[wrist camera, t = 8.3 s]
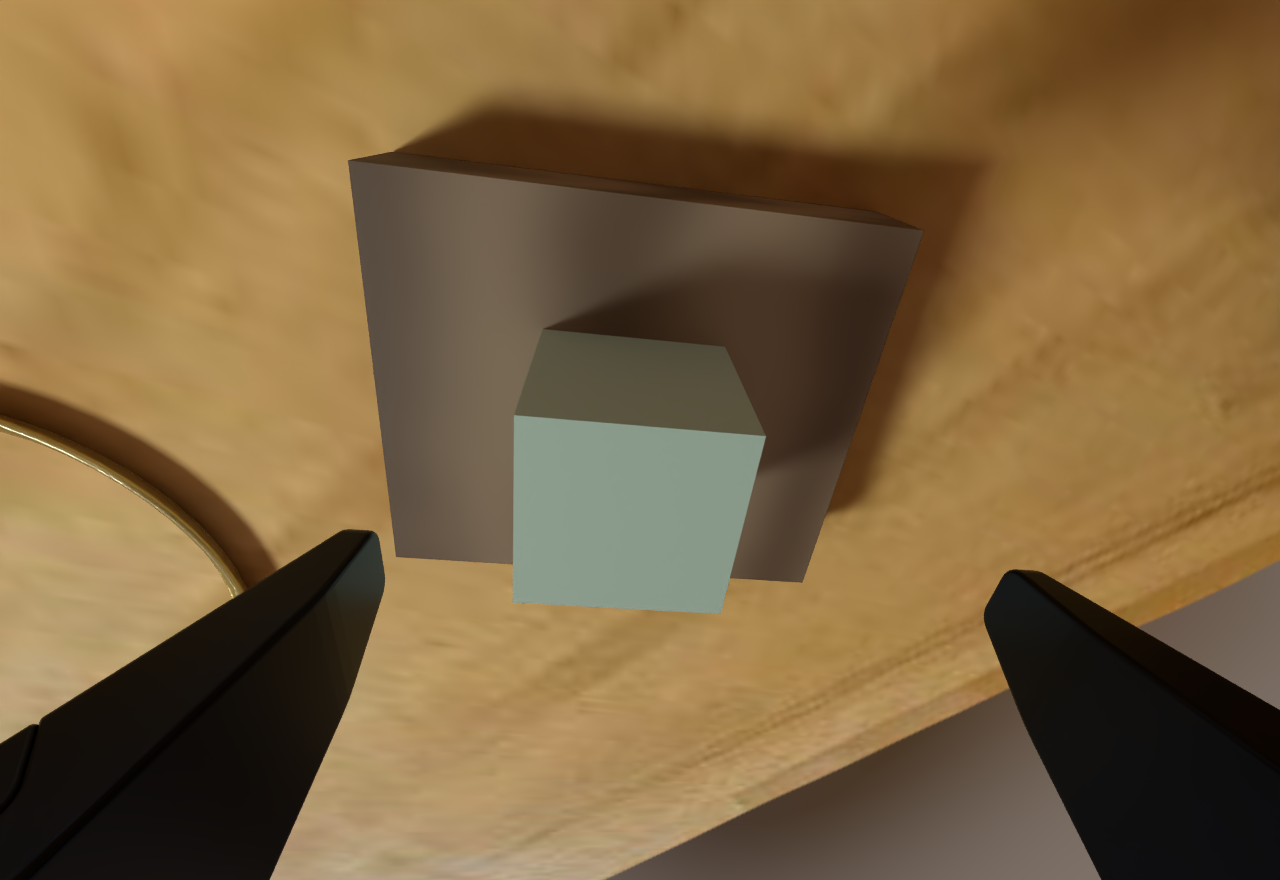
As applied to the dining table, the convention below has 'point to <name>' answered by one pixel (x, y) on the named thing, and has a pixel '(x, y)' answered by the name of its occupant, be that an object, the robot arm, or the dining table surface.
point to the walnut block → (610, 329)
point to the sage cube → (630, 473)
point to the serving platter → (135, 486)
